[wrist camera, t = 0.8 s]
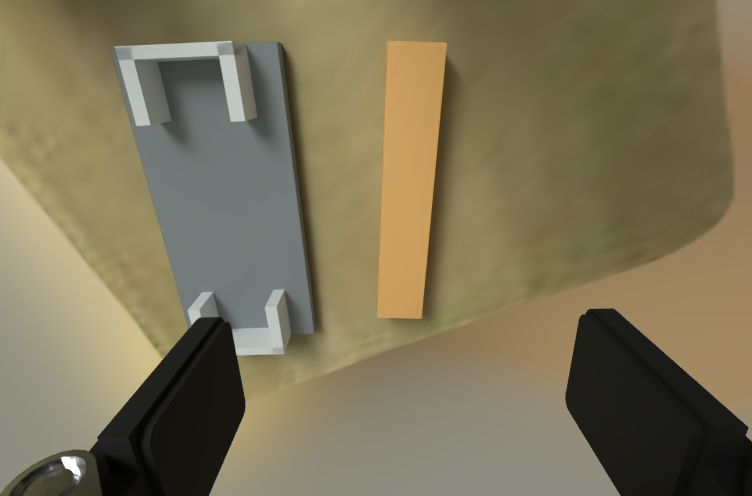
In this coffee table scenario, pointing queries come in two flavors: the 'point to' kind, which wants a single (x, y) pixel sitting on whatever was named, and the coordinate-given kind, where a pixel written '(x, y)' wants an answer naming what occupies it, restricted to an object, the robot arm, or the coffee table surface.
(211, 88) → the cap board
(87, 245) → the coffee table surface
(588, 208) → the coffee table surface
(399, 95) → the slat
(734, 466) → the robot arm
